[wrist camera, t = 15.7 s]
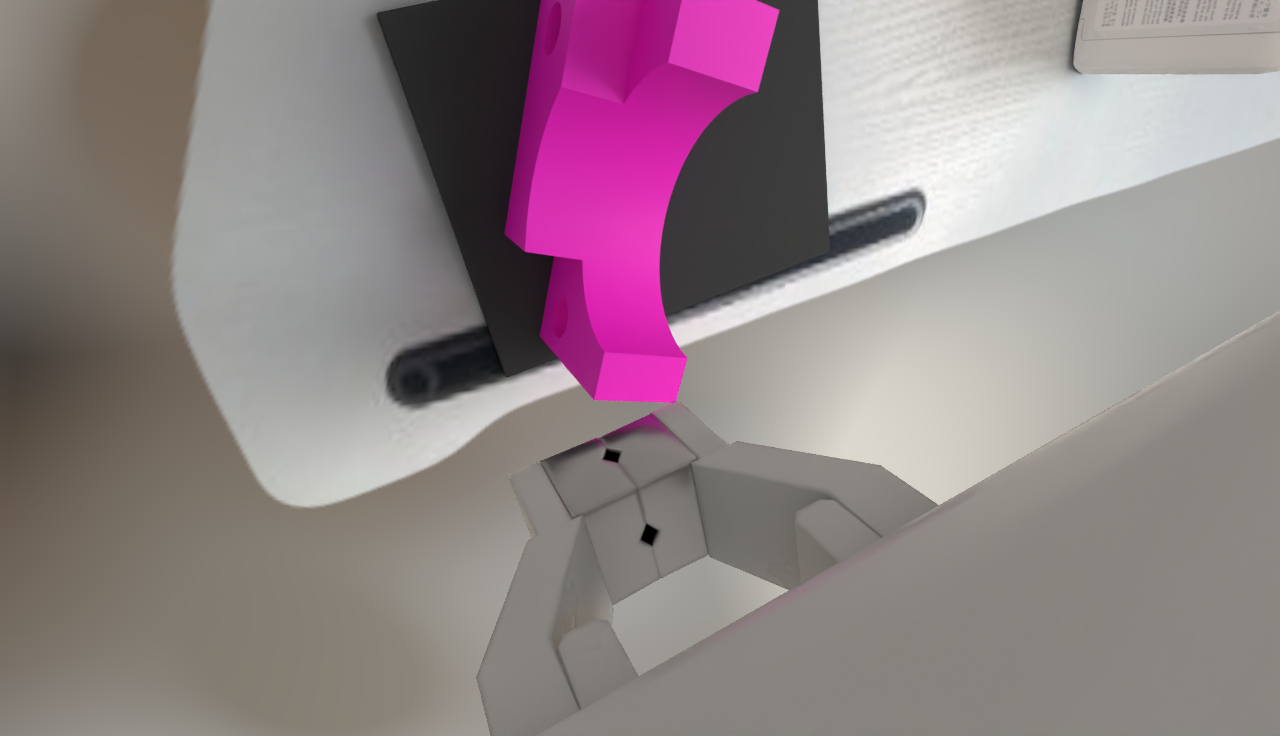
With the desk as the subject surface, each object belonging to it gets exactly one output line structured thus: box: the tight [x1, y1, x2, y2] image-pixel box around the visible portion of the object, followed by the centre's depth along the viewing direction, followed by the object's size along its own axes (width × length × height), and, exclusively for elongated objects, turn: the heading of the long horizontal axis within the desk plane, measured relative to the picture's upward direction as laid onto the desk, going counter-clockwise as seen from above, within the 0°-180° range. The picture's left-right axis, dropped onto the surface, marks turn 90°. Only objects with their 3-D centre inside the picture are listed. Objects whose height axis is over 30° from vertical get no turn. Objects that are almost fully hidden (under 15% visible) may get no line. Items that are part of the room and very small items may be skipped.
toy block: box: [504, 0, 779, 403], centre depth 26 cm, size 15×6×8 cm, turn 167°
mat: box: [377, 0, 830, 377], centre depth 30 cm, size 20×16×1 cm
